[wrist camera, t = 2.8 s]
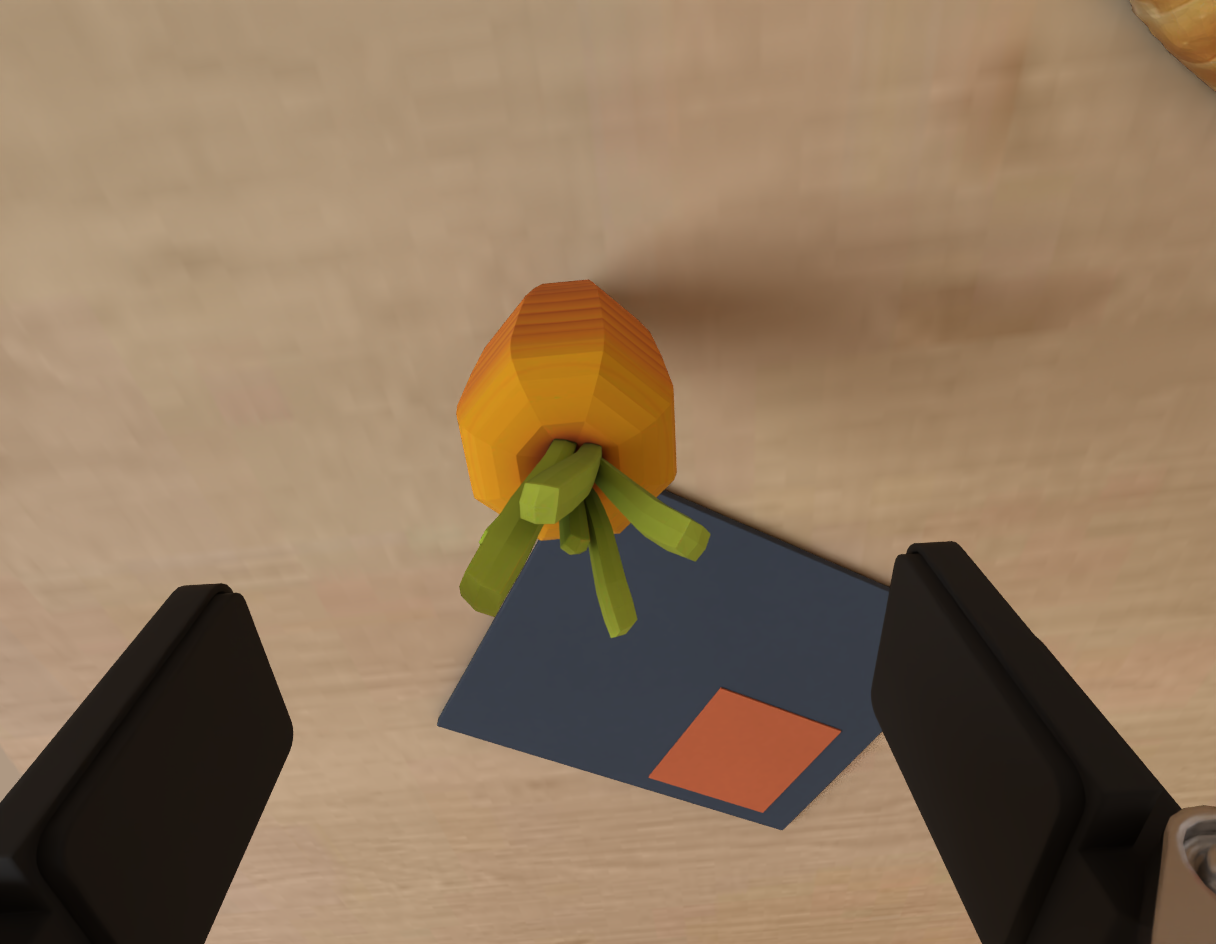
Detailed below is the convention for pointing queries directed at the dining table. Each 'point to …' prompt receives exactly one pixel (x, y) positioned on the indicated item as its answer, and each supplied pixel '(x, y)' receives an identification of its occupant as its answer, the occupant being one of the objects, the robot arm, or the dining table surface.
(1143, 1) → the pastry
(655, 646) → the mat
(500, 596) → the carrot
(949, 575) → the robot arm
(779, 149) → the dining table surface
